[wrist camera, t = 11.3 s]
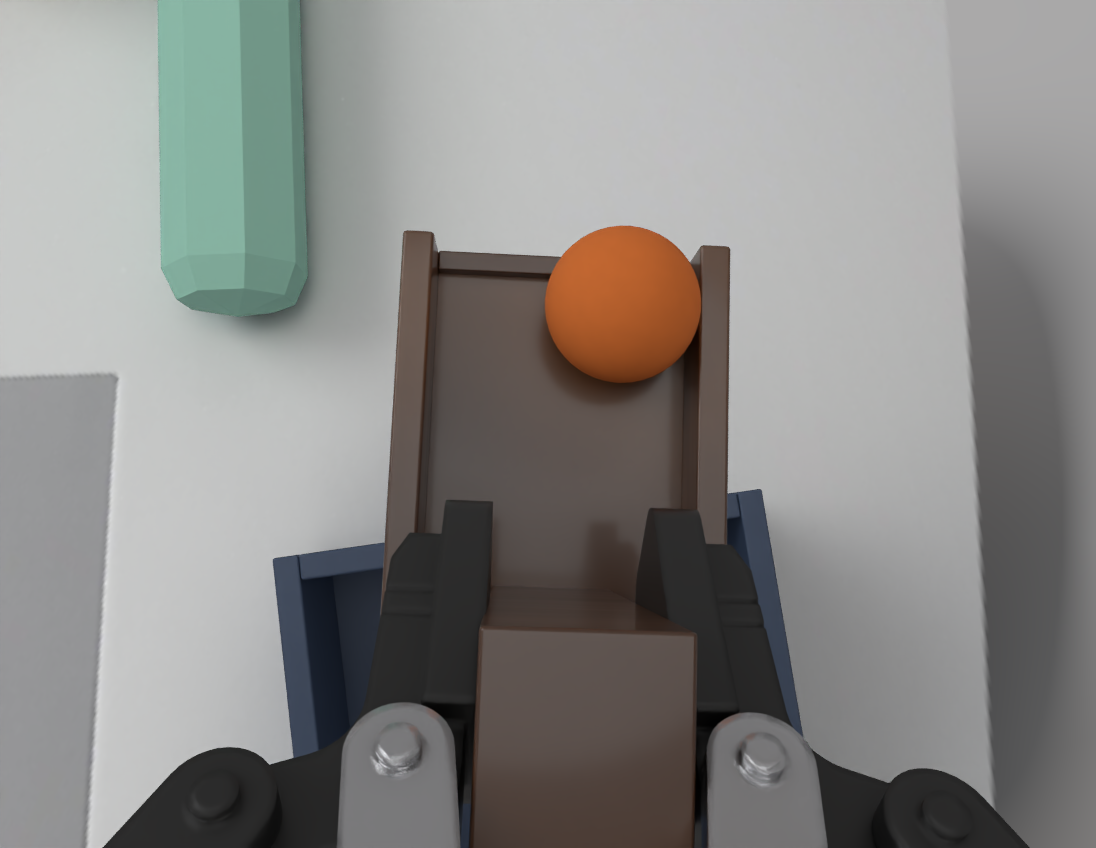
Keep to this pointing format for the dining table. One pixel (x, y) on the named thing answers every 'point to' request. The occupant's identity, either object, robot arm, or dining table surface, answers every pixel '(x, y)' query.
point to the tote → (354, 613)
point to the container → (232, 154)
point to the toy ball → (623, 304)
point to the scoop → (561, 542)
